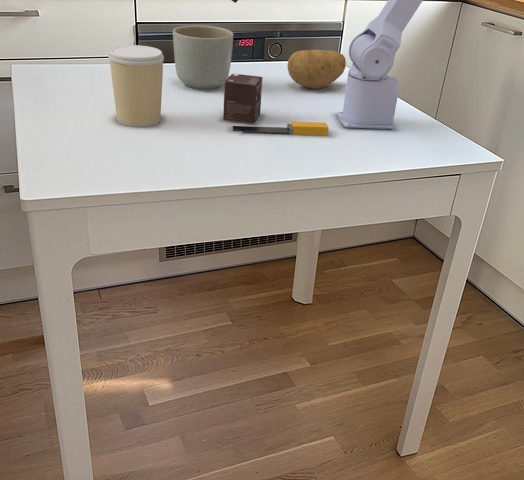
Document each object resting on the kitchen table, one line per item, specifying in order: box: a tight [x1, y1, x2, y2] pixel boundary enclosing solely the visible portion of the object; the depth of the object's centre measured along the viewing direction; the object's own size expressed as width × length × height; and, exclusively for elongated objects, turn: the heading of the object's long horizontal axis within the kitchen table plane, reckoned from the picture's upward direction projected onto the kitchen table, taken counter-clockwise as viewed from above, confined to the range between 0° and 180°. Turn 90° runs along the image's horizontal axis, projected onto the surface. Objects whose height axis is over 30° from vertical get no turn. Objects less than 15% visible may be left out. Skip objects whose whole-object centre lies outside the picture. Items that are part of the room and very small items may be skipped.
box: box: [222, 73, 263, 125], centre depth 119 cm, size 6×6×7 cm
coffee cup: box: [108, 44, 165, 128], centre depth 113 cm, size 9×9×12 cm
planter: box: [172, 24, 234, 90], centre depth 135 cm, size 12×12×11 cm
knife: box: [232, 121, 330, 137], centre depth 116 cm, size 17×3×2 cm, turn 96°
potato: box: [287, 49, 347, 90], centre depth 140 cm, size 10×14×8 cm
